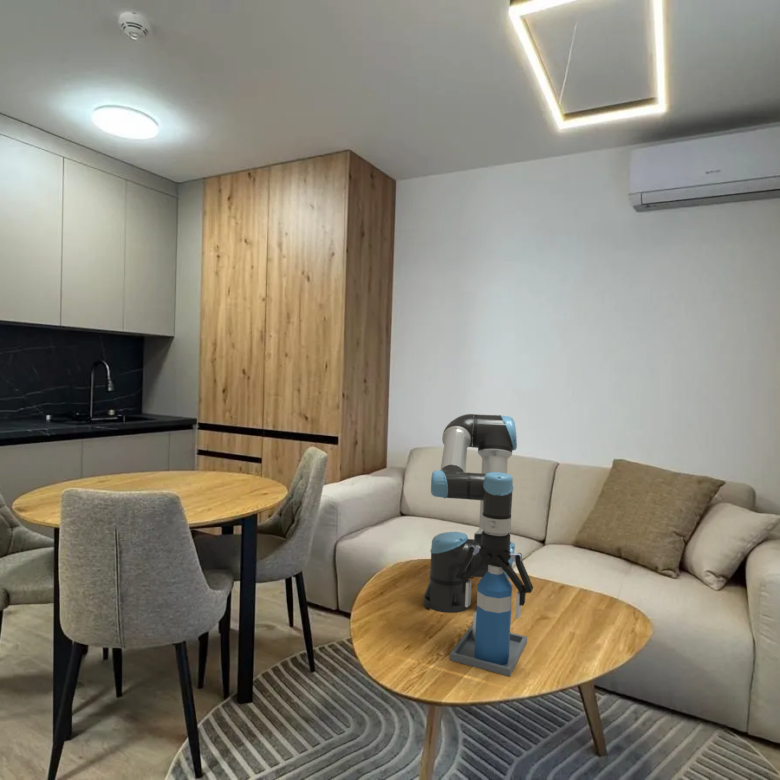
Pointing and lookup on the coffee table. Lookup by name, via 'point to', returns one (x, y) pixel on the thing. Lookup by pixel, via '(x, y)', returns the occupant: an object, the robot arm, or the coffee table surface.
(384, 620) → the coffee table surface
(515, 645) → the tray
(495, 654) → the water bottle
